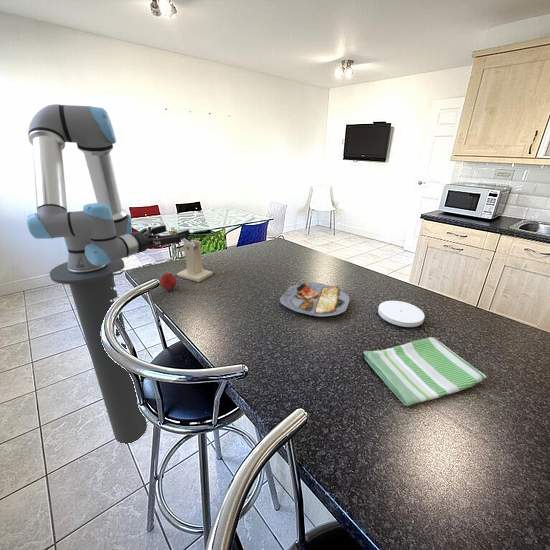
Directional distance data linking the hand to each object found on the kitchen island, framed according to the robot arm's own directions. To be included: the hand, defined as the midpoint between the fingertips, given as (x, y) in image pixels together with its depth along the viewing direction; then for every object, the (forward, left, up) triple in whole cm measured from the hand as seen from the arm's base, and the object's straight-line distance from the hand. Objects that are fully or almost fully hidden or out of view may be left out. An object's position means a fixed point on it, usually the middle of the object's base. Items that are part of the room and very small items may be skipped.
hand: (176, 230), depth 123 cm
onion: (+12, -18, -18) cm, 28 cm away
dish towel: (+99, -17, -18) cm, 102 cm away
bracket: (+10, -2, -18) cm, 20 cm away
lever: (+4, -2, -4) cm, 6 cm away
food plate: (+63, +2, -18) cm, 65 cm away
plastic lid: (+91, +7, -18) cm, 93 cm away
